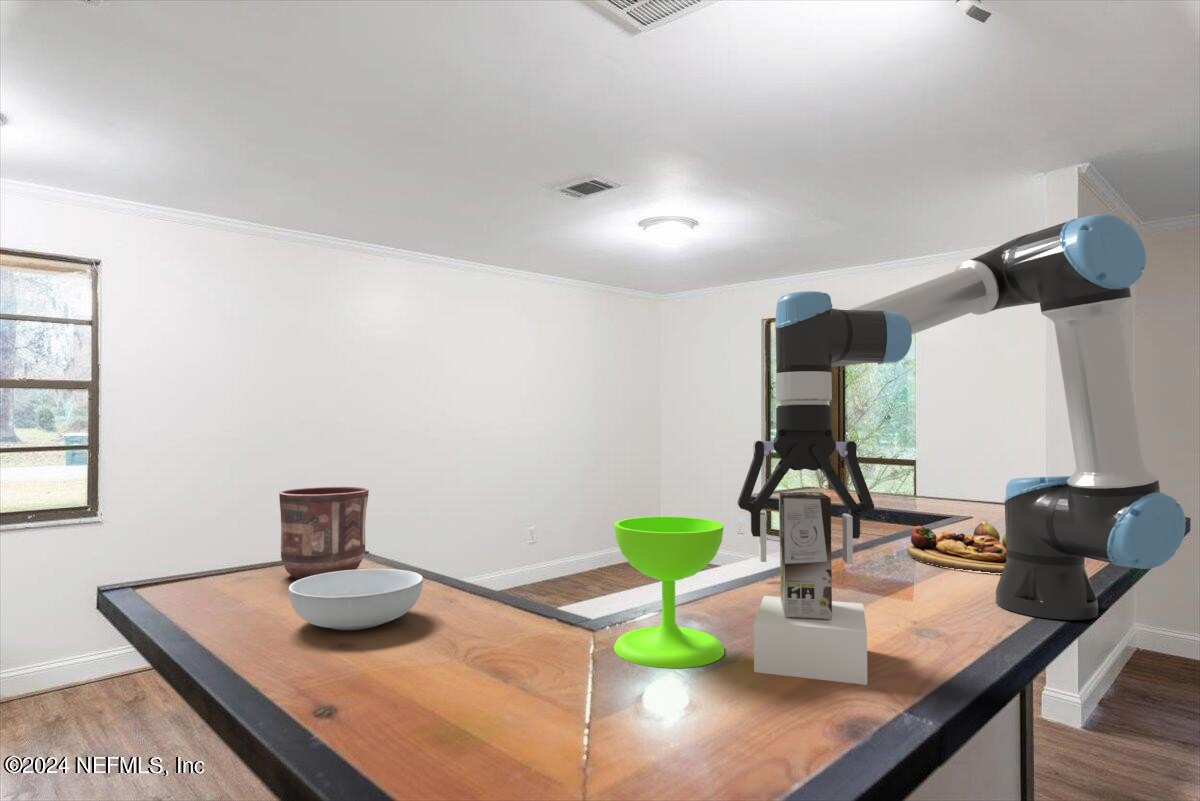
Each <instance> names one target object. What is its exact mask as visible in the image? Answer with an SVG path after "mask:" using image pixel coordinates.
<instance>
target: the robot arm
mask: <svg viewBox="0 0 1200 801" xmlns="http://www.w3.org/2000/svg"><path fill="white" fill-rule="evenodd" d="M1126 222H1127V221H1125V220H1124V219H1122V218H1120V217H1119V216H1115V215H1114V214H1113V215H1112V214H1107V213H1097V214H1091V215H1088V216H1083V217H1078V218H1074V219H1070V220H1068V221H1065V222H1062V223H1059V224H1055V225H1052V226H1050V227H1047V228H1043V229H1041V230H1038V231H1035V232H1031V233H1026V234H1025V235H1021V236H1018V237H1016V238H1013V239H1011V240H1009V241H1007V242H1005V243H1003V244H1000V245H999V246H997V247H994V248H993V249H991V250H989V251H987V252H984V253H982V254H980V255H978V256H975V257H973V258H971V259H968V260H965V261H963V262H961V263H959V264H958V266H956V268H955V270H954V271H952V272H949V273H946V274H944V275H942V276H939V277H935V278H932V279H930V280H927V281H925V282H922V283H919V284H916V285H914V286H911V287H907V288H905V289H903V290H900V291H897V292H894V293H892V294H888V295H886V296H883V297H881V298H878V299H875V300H871V301H870V302H867V303H864V304H861V305H858V306H855V307H853V308H850V309H838V308H833V303H832V299H831V296H830V294H828V293H827V292H822V291H815V290H814V291H811V290H810V291H809V290H808V291H796V292H791V293H786V294H783V295H782V296H781V297H779V299H777V302H776V310H775V321H774V322H775V323H774V330H775V360H776V362H775V364H776V366H775V367H776V370H775V372H776V383H775V385H776V388H775V391H776V394H775V395H776V396H775V400H776V401H777V402H780V405H777V407H775V413H776V414H775V418H776V420H775V421H776V423H775V424H776V428H775V430H776V433H775V437H774V439H773V440H772V441H771V440H770V441H767V440H766V441H762V440H758V439H757V440H754V442H753V458H752V460H751V462H750V466H749V469H748V472H747V474H746V476H745V477H746V478H745V480H744V483H743V486H742V488H741V492H740V495H739V497H738V500H737V505H738V507H739V509H741V510H745V511H747V512H749V513H750V533H751V535H752V537H758V559H759V561H760V562H761V563H767V514H766V513H765V512H764V511H762V510H763V508H764V507H765V506H766V504H767V502H768V501H769V499H770V498H771V497H772V495H773V493H774V492H775V490H776V488H777V487H778V486H779V484H780V483H781V481H782V480H783V478H784V477H785V475H787V473H788V471H789V470H790V469H791V470H792V471H802V470H808V471H818V470H820V472H821V473H822V475H824V477H825V478H826V480H827V481H828V483H829V485H830V486H831V488H832V489H833V491H834V492H835V494H836V495H837V497H838V498H839V499H840V501H841V502H842V504H843V506H844V507H845V508H846V510H847V511H848V513H842V516H841V517H842V519H841V520H842V523H841V524H842V526H841V527H842V561H843V562H844V563H846V565H853V564H854V562H853V561H854V557H853V556H854V550H853V548H854V547H853V546H854V545H853V543H854V542H853V541H854V540H855V539H858V540H859V539H860V536H861V515H862V514H864V513H867V512H872V511H874V510H875V503H874V502H873V498H872V497H871V496H872V495H871V493H870V490H869V488H868V486H867V485H868V484H867V482H866V479H865V477H864V475H863V471H862V468H861V467H860V464H859V460H858V459H857V458H858V457H857V455H858V454H857V450H858V449H857V448H858V447H857V443H856V442H855V441H853V440H846V441H836V440H835V438H834V435H833V407H831V405H828V402H831V401H832V399H833V397H832V396H833V392H832V391H833V388H832V387H833V386H832V383H833V382H832V369H833V367H842V366H843V367H845V366H852V365H859V364H878V365H883V364H891V363H892V364H894V363H897V362H900V361H902V360H903V359H904V358H905V357H906V356H907V355H908V353H909V351H910V349H911V346H912V343H913V337H912V336H913V335H915V334H917V333H921V332H923V331H925V330H929V329H930V328H934V327H936V326H940V325H941V324H944V323H947V322H950V321H952V320H955V319H958V318H960V317H964V316H966V315H969V314H974V315H978V316H979V315H985V314H988V313H990V312H992V311H995V310H1001V309H1006V308H1011V307H1018V306H1025V305H1033V304H1039V307H1040V308H1039V309H1040V313H1041V315H1043V316H1044V317H1046V318H1047V319H1049V320H1050V321H1052V322H1053V323H1054V330H1055V336H1056V342H1057V343H1056V344H1057V349H1058V350H1057V351H1058V356H1059V362H1060V369H1061V377H1062V381H1063V382H1062V383H1063V389H1064V390H1063V391H1064V397H1065V401H1066V409H1067V415H1068V422H1069V429H1070V434H1071V441H1072V442H1071V444H1072V450H1073V455H1074V462H1075V471H1074V472H1073V473H1072V474H1071V475H1066V476H1065V475H1061V476H1035V477H1033V476H1032V477H1019V478H1018V477H1017V478H1012V479H1010V480H1009V481H1008V482H1007V483H1006V487H1005V498H1004V518H1005V525H1004V526H1005V534H1006V563H1005V566H1004V569H1003V572H1002V574H1001V575H1000V577H999V580H998V583H997V586H996V588H995V604H996V605H997V606H999V607H1000V608H1003V609H1005V610H1007V611H1010V612H1013V613H1014V612H1015V613H1017V614H1021V615H1026V616H1031V617H1036V618H1037V617H1038V618H1044V619H1049V620H1050V619H1052V620H1065V621H1081V620H1082V621H1083V620H1091V619H1095V618H1097V617H1098V616H1099V604H1098V599H1097V596H1096V594H1095V592H1094V589H1093V587H1092V584H1091V581H1090V578H1089V574H1087V571H1086V565H1085V564H1086V563H1085V562H1086V561H1085V559H1091V560H1095V561H1098V562H1104V563H1109V564H1112V565H1115V566H1117V567H1122V568H1134V569H1141V570H1143V569H1144V570H1149V569H1155V568H1158V567H1160V566H1162V565H1164V564H1165V563H1167V562H1168V561H1169V560H1171V558H1173V557H1174V556H1175V554H1176V552H1177V550H1179V548H1180V546H1181V544H1182V543H1183V539H1184V537H1185V534H1186V517H1185V513H1184V509H1183V507H1182V506H1181V504H1180V503H1178V502H1177V499H1175V498H1174V497H1173V496H1170V495H1169V494H1167V493H1164V492H1161V490H1160V489H1161V487H1160V482H1159V476H1158V475H1157V474H1155V473H1154V472H1153V471H1151V470H1149V469H1148V468H1147V467H1146V466H1145V465H1144V459H1143V453H1142V447H1141V446H1142V445H1141V440H1140V433H1139V432H1140V431H1139V426H1138V420H1137V413H1136V405H1135V400H1134V394H1133V387H1132V378H1131V373H1130V365H1129V360H1128V353H1127V346H1126V340H1125V333H1124V332H1125V331H1124V326H1123V319H1122V314H1121V313H1122V311H1123V309H1124V308H1125V307H1126V305H1127V304H1128V303H1130V301H1131V300H1132V295H1131V286H1133V285H1134V284H1135V283H1137V282H1138V281H1139V280H1140V278H1141V277H1142V275H1143V271H1144V270H1145V268H1146V264H1147V256H1146V255H1147V254H1146V248H1145V246H1144V243H1143V240H1142V238H1141V236H1140V235H1139V233H1138V232H1137V231H1136V229H1135V228H1134V227H1133V226H1132V225H1131V224H1130V223H1126ZM771 450H774V452H775V453H776V454H777V456H778V457H779V458H780V460H779V461H778V462H777V464H776V466H775V468H774V470H773V471H772V472H771V475H770V476H769V477H768V479H767V480H766V482H765V483H764V485H763V486H762V488H761V489H760V491H759V493H758V494H757V496H755V499H754V500H753V502H752V501H750V499H751V497H752V494H753V492H754V488H755V486H756V483H757V480H758V477H759V476H760V472H761V469H762V466H763V463H764V460H765V458H764V457H767V456H769V454H770V451H771ZM835 450H837V451H838V455H840V456H841V457H843V459H844V464H845V466H846V469H847V472H848V474H849V476H850V478H851V482H852V485H853V487H854V490H855V493H856V496H857V498H858V501H859V502H858V503H857V502H856V500H854V497H853V496H852V495H851V493H850V492H849V490H848V489H847V487H846V486H845V484H844V483H843V481H842V480H841V478H840V477H839V475H838V474H837V472H836V471H835V469H834V467H833V466H832V463H830V461H829V458H830V457H831V456H832V455H833V453H834V452H835ZM853 539H854V540H853Z"/></svg>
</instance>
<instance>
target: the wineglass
mask: <svg viewBox="0 0 1200 801" xmlns="http://www.w3.org/2000/svg"><path fill="white" fill-rule="evenodd" d="M724 527H725V526H724V523H722V522H720V521H716V520H712V519H707V518H701V517H690V516H688V517H687V516H667V515H666V516H660V515H659V516H640V517H630V518H625V519H620V520H616V521H615V522H614V523H613V528H614V529H613V530H614V536H615V539H616V543H617V545H618V548H619V550H620V551H621V554H622V555H623V556H624V558H625V560H627V562H628V563H629V564H630V566H632V567H633V568H635V570H637V571H638V572H640V573H641V574H643V575H645V576H647V577H651V578H653V579H655V580H659V581H661V600H662V601H661V624H660V625H659V626H657V625H656V626H646V627H641V628H636V629H633V630H630V631H627V632H625V633H623V634H622V635H621V636H619V637H618V638H617V639H616V641H615V643H614V645H613V650H614V653H615V654H616V655H617V656H619V658H622V659H624V660H626V661H627V662H631V663H634V664H637V665H641V666H646V667H653V668H663V669H690V668H696V667H702V666H705V665H709V664H710V665H711V664H712V663H715V662H717V661H718V660H719V661H720V659H722V658H723V656H724V655H725V648H724V645H723V644H722V643H721V642H720V640H719V639H718V638H717V637H715V636H713V635H712V634H711V633H707V632H705V631H702V630H700V629H699V630H698V629H695V628H690V627H684V626H683V627H682V626H678V625H677V623H676V581H680V580H684V579H686V578H689V577H693V576H695V575H696V574H697V573H699V572H701V571H702V570H703V569H704V568H706V567H707V566H708V565H710V563H711V562H712V561H713V559H714V558H715V557H716V556H717V553H718V551H719V548H720V546H721V544H722V541H723V535H724V534H723V533H724Z"/></svg>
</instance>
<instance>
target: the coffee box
mask: <svg viewBox="0 0 1200 801" xmlns="http://www.w3.org/2000/svg"><path fill="white" fill-rule="evenodd" d="M778 512H779V513H778V516H779V517H778V520H779V521H778V522H779V525H778V526H779V564H780V566H779V568H780V571H779V573H780V575H779V576H780V597H781V603H782V607H783V610H784V614H785V616H786V617H802V618H819V619H832V601H833V591H832V590H833V588H832V587H833V577H832V576H833V574H832V498H831V497H830V496H828V495H826V494H825V493H824V492H821V491H820V492H818V491H802V492H801V491H796V492H795V491H794V492H778Z"/></svg>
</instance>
